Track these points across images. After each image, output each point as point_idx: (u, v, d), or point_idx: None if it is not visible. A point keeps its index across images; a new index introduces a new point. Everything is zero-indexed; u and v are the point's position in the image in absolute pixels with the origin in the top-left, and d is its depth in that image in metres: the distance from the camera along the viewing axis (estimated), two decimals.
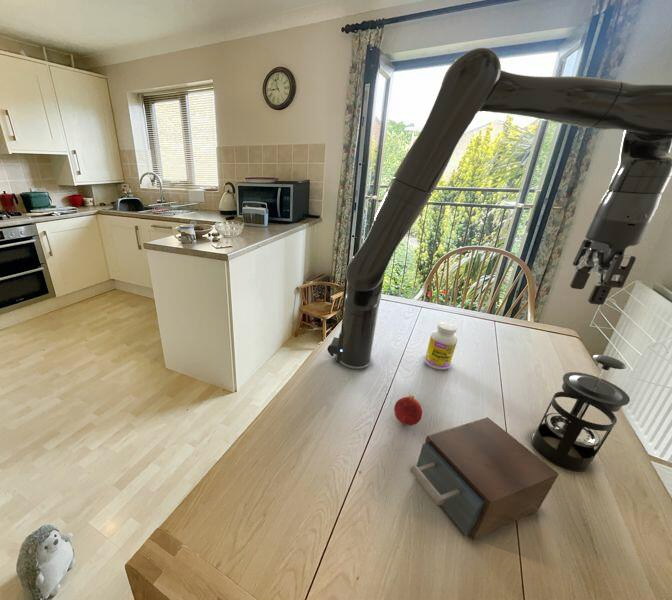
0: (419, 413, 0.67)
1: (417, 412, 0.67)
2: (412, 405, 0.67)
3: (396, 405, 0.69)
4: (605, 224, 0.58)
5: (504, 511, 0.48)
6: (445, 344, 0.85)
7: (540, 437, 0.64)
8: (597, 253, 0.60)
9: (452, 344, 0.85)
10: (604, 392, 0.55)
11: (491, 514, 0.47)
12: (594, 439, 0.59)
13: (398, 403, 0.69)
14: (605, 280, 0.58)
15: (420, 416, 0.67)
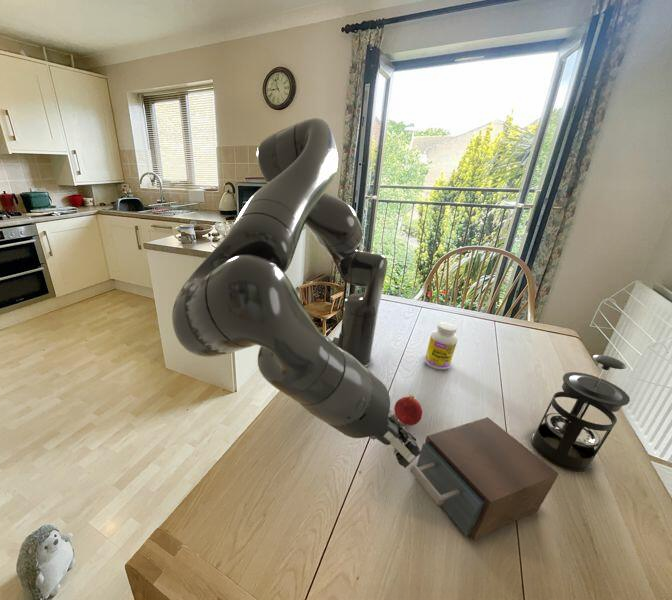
0: (419, 413, 0.67)
1: (417, 412, 0.67)
2: (412, 405, 0.67)
3: (396, 405, 0.69)
4: (338, 428, 0.33)
5: (504, 511, 0.48)
6: (445, 344, 0.85)
7: (540, 437, 0.64)
8: (370, 436, 0.36)
9: (452, 344, 0.85)
10: (604, 392, 0.55)
11: (491, 514, 0.47)
12: (594, 439, 0.59)
13: (398, 403, 0.69)
14: None
15: (420, 416, 0.67)
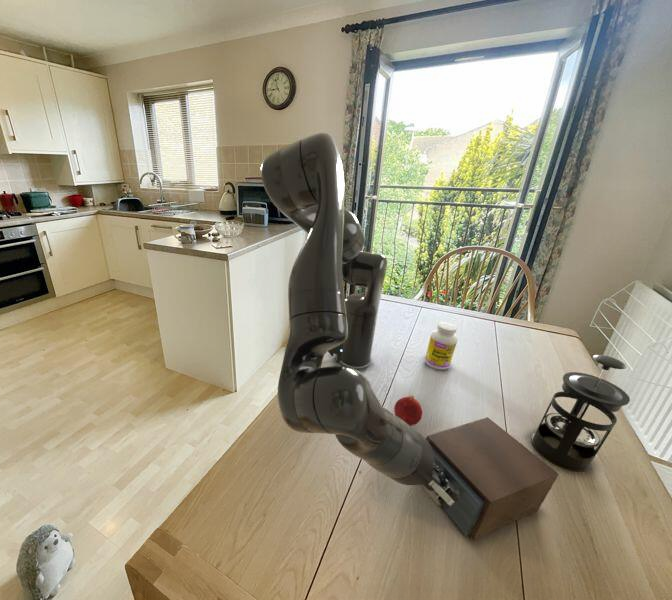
0: (419, 413, 0.67)
1: (417, 412, 0.67)
2: (412, 405, 0.67)
3: (396, 405, 0.69)
4: (393, 478, 0.42)
5: (504, 511, 0.48)
6: (445, 344, 0.85)
7: (540, 437, 0.64)
8: None
9: (452, 344, 0.85)
10: (604, 392, 0.55)
11: (491, 514, 0.47)
12: (594, 439, 0.59)
13: (398, 403, 0.69)
14: None
15: (420, 416, 0.67)
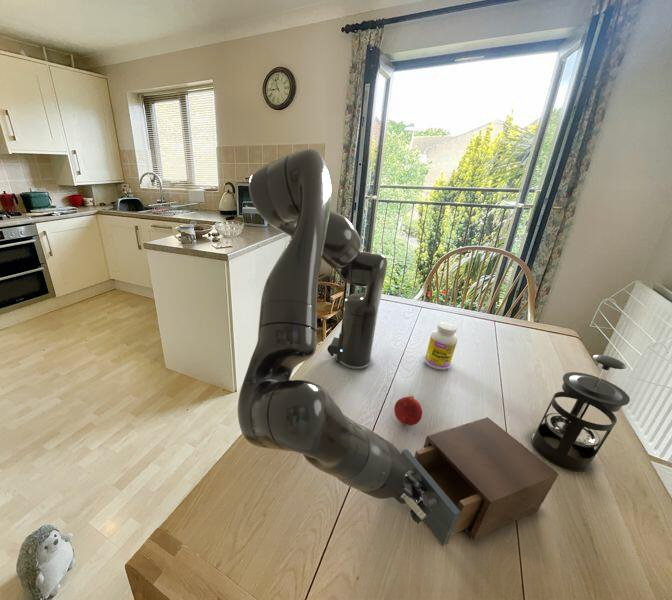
0: (419, 413, 0.67)
1: (417, 412, 0.67)
2: (412, 405, 0.67)
3: (396, 405, 0.69)
4: (363, 492, 0.40)
5: (504, 511, 0.48)
6: (445, 344, 0.85)
7: (540, 437, 0.64)
8: None
9: (452, 344, 0.85)
10: (604, 392, 0.55)
11: (491, 514, 0.47)
12: (594, 439, 0.59)
13: (398, 403, 0.69)
14: None
15: (420, 416, 0.67)
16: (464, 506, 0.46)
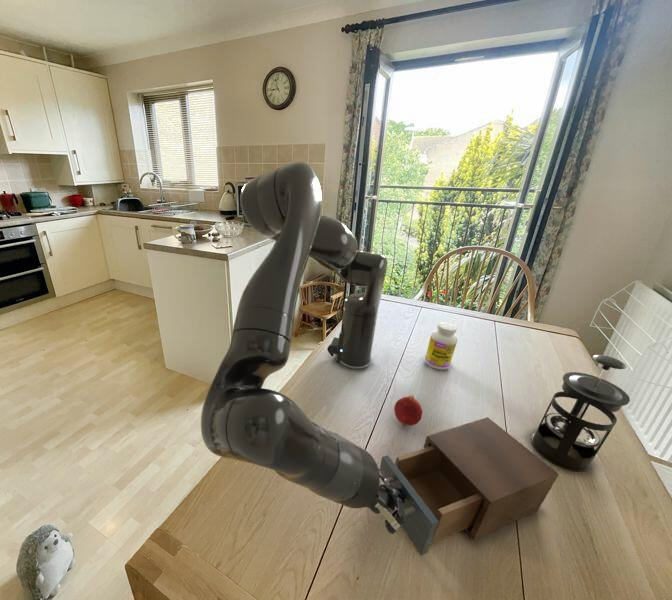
0: (419, 413, 0.67)
1: (417, 412, 0.67)
2: (412, 405, 0.67)
3: (396, 405, 0.69)
4: None
5: (504, 511, 0.48)
6: (445, 344, 0.85)
7: (540, 437, 0.64)
8: None
9: (452, 344, 0.85)
10: (604, 392, 0.55)
11: (491, 514, 0.47)
12: (594, 439, 0.59)
13: (398, 403, 0.69)
14: None
15: (420, 416, 0.67)
16: (442, 515, 0.45)
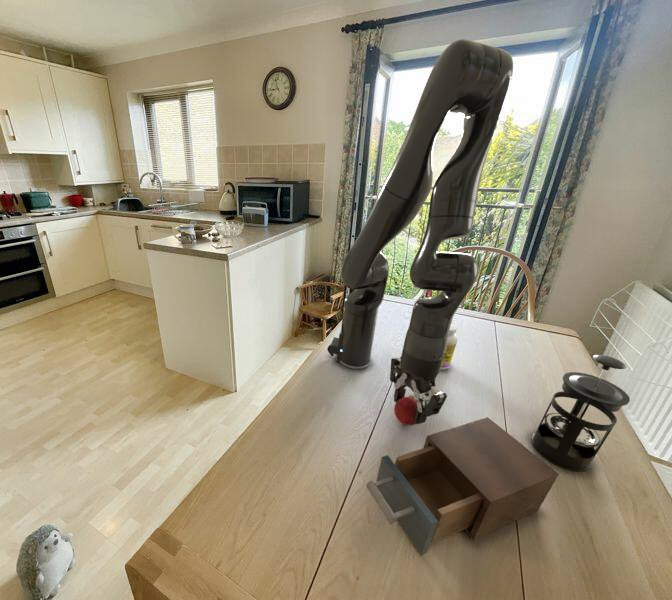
0: None
1: None
2: (412, 405, 0.67)
3: (396, 405, 0.69)
4: (419, 362, 0.60)
5: (504, 511, 0.48)
6: None
7: (540, 437, 0.64)
8: (415, 383, 0.63)
9: (452, 344, 0.85)
10: (604, 392, 0.55)
11: (491, 514, 0.47)
12: (594, 439, 0.59)
13: (398, 403, 0.69)
14: (427, 411, 0.62)
15: None
16: (442, 515, 0.45)
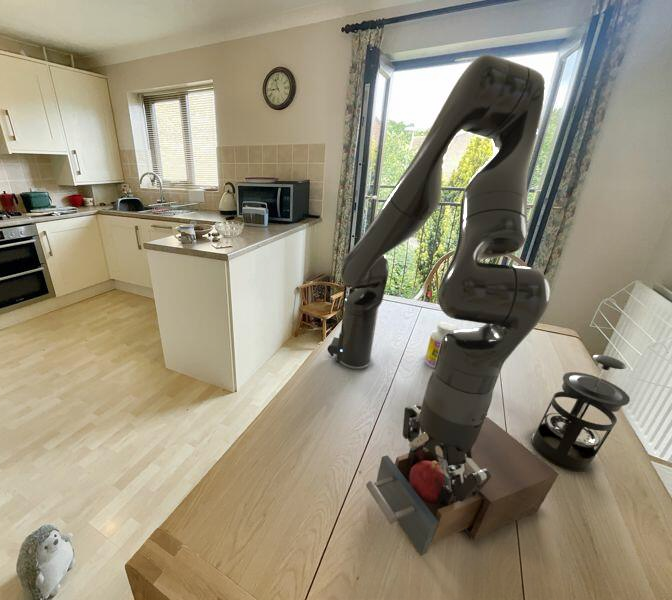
0: None
1: None
2: (435, 477, 0.48)
3: (412, 473, 0.50)
4: (449, 426, 0.41)
5: (504, 511, 0.48)
6: None
7: (540, 437, 0.64)
8: (442, 450, 0.44)
9: None
10: (604, 392, 0.55)
11: (491, 514, 0.47)
12: (594, 439, 0.59)
13: (414, 472, 0.50)
14: (459, 494, 0.43)
15: None
16: (442, 515, 0.45)
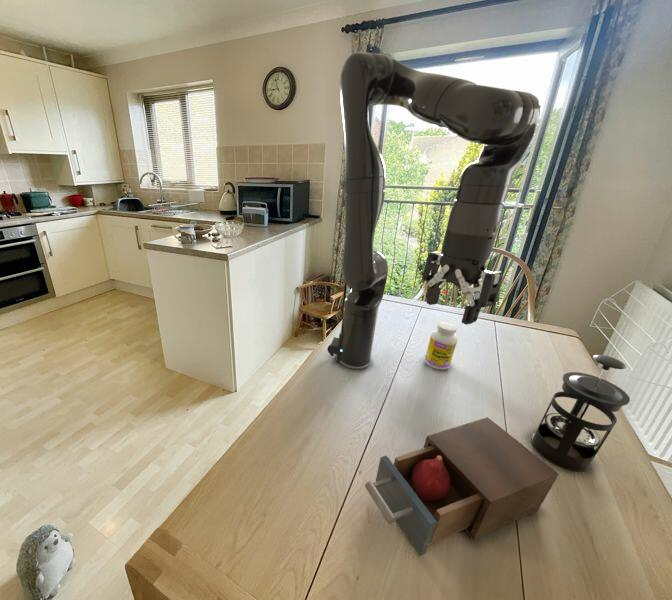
0: (449, 483, 0.50)
1: (447, 480, 0.50)
2: (442, 467, 0.51)
3: (418, 466, 0.53)
4: (468, 240, 0.51)
5: (504, 511, 0.48)
6: (445, 344, 0.85)
7: (540, 437, 0.64)
8: (460, 270, 0.54)
9: (452, 344, 0.85)
10: (604, 392, 0.55)
11: (491, 514, 0.47)
12: (594, 439, 0.59)
13: (421, 464, 0.53)
14: (481, 301, 0.52)
15: (449, 488, 0.50)
16: (440, 516, 0.45)
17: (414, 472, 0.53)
